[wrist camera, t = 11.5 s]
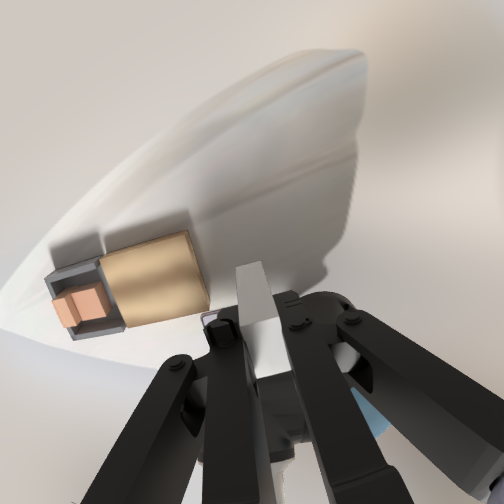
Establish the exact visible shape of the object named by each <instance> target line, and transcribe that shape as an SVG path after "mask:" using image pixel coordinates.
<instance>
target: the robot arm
mask: <svg viewBox="0 0 504 504" xmlns="http://www.w3.org/2000/svg"><path fill="white" fill-rule="evenodd" d="M235 269H236V284H237V298H238V305H235V306H231V307H227V308H223V309H221V310H220V311H219V313H218V314H217V319H214V320H212V321H211V322H209V323H208V324H207V325H206V326H205V327H204V329H203V331H204V334H205V336H206V339H207V341H208V344H209V346H210V352H209V353H208V354H206V355H204V356H202V357H200V358H198V359H195V360H192V357H191V356H189V355H187V354H179V355H175V356H172V357H170V358H169V359H167V360H166V361H165V362H164V363H163V364H162V365H161V367H160V369H159V370H158V372H157V374H156V376H155V377H154V379H153V380H152V382H151V384H150V385H149V387H148V389H147V390H146V392H145V394H144V395H143V397H142V399H141V400H140V402H139V404H138V405H137V407H136V409H135V410H134V412H133V414H132V415H131V417H130V419H129V420H128V422H127V424H126V425H125V427H124V429H123V430H122V432H121V434H120V436H119V437H118V439H117V441H116V442H115V444H114V446H113V448H112V449H111V451H110V453H109V454H108V456H107V458H106V459H105V461H104V463H103V465H102V466H101V468H100V470H99V472H98V473H97V475H96V477H95V479H94V480H93V482H92V484H91V486H90V487H89V489H88V491H87V493H86V494H85V496H84V498H83V500H82V502H81V503H80V504H181V502H182V499H183V497H184V494H185V491H186V488H187V486H188V483H189V480H190V477H191V474H192V472H193V469H194V466H195V463H196V460H197V458H198V464H199V465H201V466H202V467H203V485H202V504H285V495H284V480H283V472H284V470H285V468H286V467H287V466H288V465H289V464H290V463H291V462H292V461H293V460H294V459H295V454H294V444H297V443H304V442H312V444H313V447H314V451H315V453H316V457H317V461H318V464H319V468H320V471H321V475H322V478H323V482H324V485H325V489H326V492H327V496H328V499H329V503H330V504H414V502H413V500H412V498H411V496H410V494H409V492H408V489H407V488H406V485H405V483H404V481H403V479H402V477H401V475H400V474H399V472H398V470H397V469H396V468H395V467H394V466H390V465H388V464H387V462H386V460H385V459H384V457H383V455H382V452H381V450H380V449H379V446H378V444H377V442H376V440H375V439H376V438H377V437H379V436H380V435H381V434H382V433H383V432H384V431H385V430H386V429H387V428H388V427H389V426H390V425H391V424H392V425H393V426H394V427H395V428H396V429H397V430H398V431H399V432H400V433H401V434H403V436H405V437H406V438H407V439H408V440H409V441H410V442H411V443H412V444H413V445H414V446H415V447H416V448H417V449H418V450H419V451H420V452H421V453H423V454H424V455H425V456H426V457H427V458H428V459H429V460H430V461H431V462H432V463H433V464H434V465H435V466H436V467H437V468H439V469H440V470H441V471H442V472H443V473H444V474H445V475H446V476H447V477H448V478H449V479H451V480H452V481H453V482H454V483H455V484H456V485H457V486H458V487H459V488H461V489H462V490H463V491H465V492H466V493H467V494H469V495H470V496H472V497H474V498H476V499H477V500H479V501H481V502H484V503H486V504H504V400H503V399H501V398H500V397H499V396H497V395H496V394H494V393H492V392H491V391H489V390H488V389H486V388H485V387H483V386H482V385H480V384H479V383H477V382H476V381H474V380H472V379H471V378H469V377H468V376H466V375H465V374H463V373H462V372H460V371H459V370H457V369H455V368H454V367H452V366H451V365H449V364H448V363H446V362H444V361H443V360H441V359H440V358H438V357H437V356H435V355H434V354H432V353H430V352H429V351H427V350H426V349H424V348H423V347H421V346H420V345H418V344H416V343H415V342H413V341H412V340H410V339H408V338H407V337H405V336H404V335H402V334H401V333H399V332H397V331H396V330H394V329H392V328H391V327H389V326H388V325H386V324H385V323H383V322H382V321H380V320H379V319H377V318H375V317H374V316H372V315H371V314H369V313H367V312H365V311H363V310H357V309H356V308H355V307H354V305H353V304H352V303H351V302H350V301H349V300H348V299H347V298H346V297H344V296H342V295H340V294H338V293H334V292H327V291H323V292H315V293H311V294H308V295H305V296H303V297H301V298H299V296H298V294H297V293H296V292H294V291H292V290H290V291H286V292H282V293H279V294H275V295H272V293H271V290H270V287H269V284H268V281H267V278H266V275H265V272H264V269H263V266H262V263H261V261H257V262H253V263H249V264H245V265H241V266H238V267H235Z"/></svg>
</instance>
